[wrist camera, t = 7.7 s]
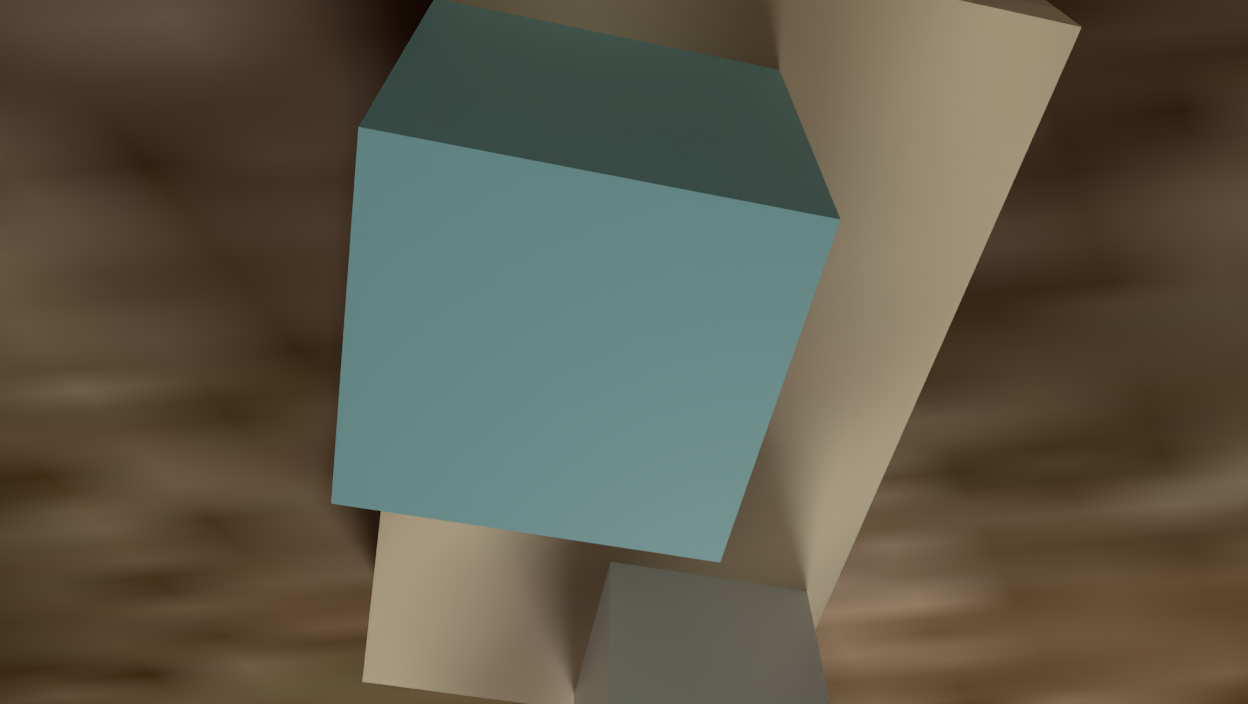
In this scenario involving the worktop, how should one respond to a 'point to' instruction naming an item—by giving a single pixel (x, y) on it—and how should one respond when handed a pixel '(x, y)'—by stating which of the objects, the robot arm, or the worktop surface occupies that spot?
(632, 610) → the gray cube
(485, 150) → the teal cube box
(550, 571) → the pallet dock
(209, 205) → the worktop surface
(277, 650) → the worktop surface
